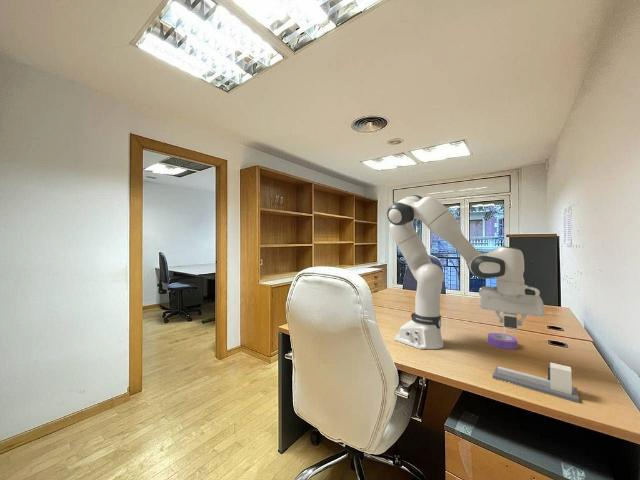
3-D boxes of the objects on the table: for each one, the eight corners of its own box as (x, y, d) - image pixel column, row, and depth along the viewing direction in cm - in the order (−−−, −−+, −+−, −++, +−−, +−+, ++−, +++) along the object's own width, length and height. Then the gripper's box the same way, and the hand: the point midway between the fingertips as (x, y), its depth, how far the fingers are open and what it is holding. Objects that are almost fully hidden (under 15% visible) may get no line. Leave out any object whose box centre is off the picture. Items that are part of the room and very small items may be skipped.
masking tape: (522, 350, 118) (522, 342, 118) (494, 348, 120) (494, 340, 120) (509, 341, 130) (509, 333, 130) (483, 339, 132) (483, 332, 132)
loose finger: (503, 329, 105) (503, 311, 105) (517, 331, 102) (517, 313, 102) (503, 332, 100) (503, 314, 100) (517, 335, 98) (517, 316, 98)
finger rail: (492, 378, 93) (492, 355, 94) (496, 369, 100) (496, 348, 100) (579, 403, 79) (578, 376, 79) (577, 390, 86) (576, 366, 86)
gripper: (478, 286, 105) (478, 321, 105) (545, 292, 93) (545, 331, 93) (479, 284, 110) (479, 317, 110) (543, 289, 98) (543, 326, 98)
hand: (510, 323), depth 101 cm, fingers closed on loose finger, 4 cm apart
